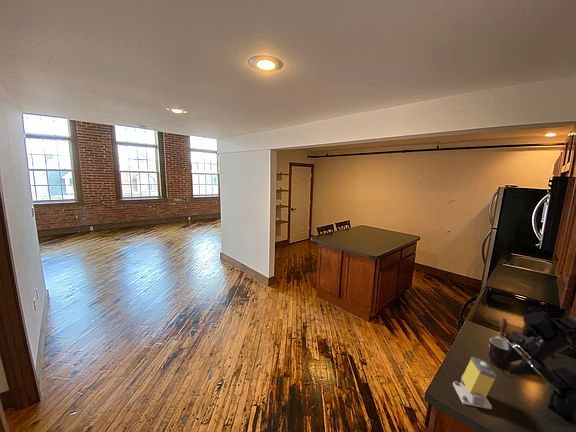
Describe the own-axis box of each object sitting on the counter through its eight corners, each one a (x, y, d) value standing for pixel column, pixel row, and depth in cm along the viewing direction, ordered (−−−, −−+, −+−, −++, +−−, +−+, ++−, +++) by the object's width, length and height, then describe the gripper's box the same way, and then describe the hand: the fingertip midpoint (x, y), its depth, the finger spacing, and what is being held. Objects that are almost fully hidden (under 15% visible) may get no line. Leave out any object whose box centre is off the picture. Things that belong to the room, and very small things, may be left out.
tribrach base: (477, 387, 98) (479, 377, 97) (492, 411, 88) (494, 400, 87) (452, 382, 100) (453, 373, 99) (463, 405, 90) (464, 394, 89)
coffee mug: (502, 358, 114) (505, 338, 113) (517, 372, 106) (521, 350, 104) (475, 356, 115) (477, 336, 114) (488, 370, 107) (491, 349, 105)
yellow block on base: (473, 386, 97) (486, 359, 94) (483, 403, 90) (498, 374, 87) (459, 381, 98) (472, 354, 95) (468, 397, 91) (482, 368, 88)
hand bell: (508, 347, 122) (512, 316, 120) (513, 357, 115) (517, 325, 113) (487, 341, 126) (491, 312, 124) (490, 351, 119) (494, 319, 117)
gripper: (512, 313, 95) (476, 335, 99) (550, 344, 77) (504, 369, 81) (534, 335, 94) (497, 357, 99) (577, 371, 76) (529, 396, 81)
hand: (505, 368), depth 90 cm, fingers open, 5 cm apart
